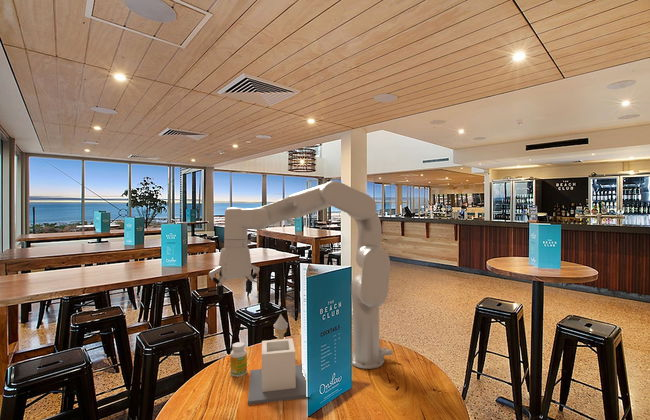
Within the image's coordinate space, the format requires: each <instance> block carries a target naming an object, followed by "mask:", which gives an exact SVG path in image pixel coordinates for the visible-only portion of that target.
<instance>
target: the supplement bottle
mask: <svg viewBox="0 0 650 420" xmlns="http://www.w3.org/2000/svg"><path fill="white" fill-rule="evenodd" d="M245 346H246V345H245V342H241V341H240V342H239V341H238V342H235V343H232V350H231V351H230V375H231V376H232V377H242V376H245V374H247V372H248V358H247V357H248V355H247V354H248V353H247V349H246V348H245Z"/></svg>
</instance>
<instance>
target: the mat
mask: <svg viewBox="0 0 650 420" xmlns="http://www.w3.org/2000/svg"><path fill="white" fill-rule="evenodd" d="M302 365H303V364H298V365H297V364H295V373H296V388H291V389H283V390H274V391H266V392H262V368H257V369H251V370H250V375H249V386H248V395H247V396H248V397H247V405H248V406H251V405H258V404H267V403H274V402H283V401H292V400H298V399H307V398H306V380H305V377H304V376H303V373H302Z"/></svg>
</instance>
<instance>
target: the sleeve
mask: <svg viewBox="0 0 650 420" xmlns="http://www.w3.org/2000/svg"><path fill="white" fill-rule="evenodd" d="M295 365H296V349H295V344H294V339H293V338H292V337H290V338H284V339H279V338H278V339H271V340H270V339H269V340H262V341H261V369H262V392H266V391H274V390H283V389H291V388H296V373H295Z"/></svg>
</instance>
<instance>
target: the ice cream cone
mask: <svg viewBox="0 0 650 420" xmlns="http://www.w3.org/2000/svg"><path fill="white" fill-rule="evenodd" d="M288 325H289V323H288V322H287V321H286V319H285V318H284V317H283V315H282V313H280V314H279V316H278V318H277V320H276V321H275V322H274V324H273V328H274V330H275V334H277V336H278V340H279V339H285V338H284V337H285V333H287V331H288V327H289V326H288Z"/></svg>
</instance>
